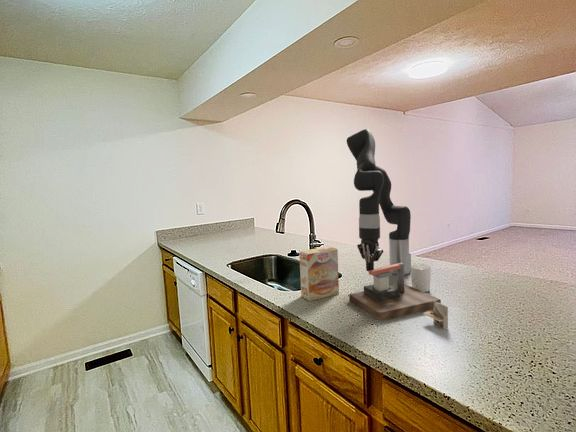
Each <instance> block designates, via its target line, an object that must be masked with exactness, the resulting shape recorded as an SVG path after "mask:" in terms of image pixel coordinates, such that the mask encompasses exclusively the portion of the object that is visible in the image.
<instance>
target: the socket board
mask: <svg viewBox="0 0 576 432" xmlns="http://www.w3.org/2000/svg"><path fill="white" fill-rule="evenodd" d="M348 296H349V300H348V301H349V303H351V304H353V305H354V306H355V307H357V308H359V309H360V310H362V311H363V312H365V313H366V314H367V315H370V316H371V317H372V318H374V319H375V320H377V321H378V322H384V321H387V320H391V319H396V318H401V317H406V316H411V315H414V314H418V313H424V312H428V311H430V309H431V310H434V306H433V305H434V301H435V302H438V303H440V304H442V303H441V302H442V301H441V299H440V298H438V297H436V296H434V295H431V294H430V293H427V292H422V291H420V290H417V289H415V288H412V286H410V285H407V284H405V283H404V292H400V290H399V289H397V284H396V285H391V284H389V290H384V291H378V290H376V289H374V284H368V285H364V286H363V291H360V292H359V291H358V292H354V293H350V294H349V295H348Z"/></svg>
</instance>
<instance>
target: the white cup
mask: <svg viewBox="0 0 576 432" xmlns="http://www.w3.org/2000/svg"><path fill="white" fill-rule="evenodd" d="M431 271H432V266H431V265H429V264H425V263H424V264H422V263H414V264H413V263H412V264H411V272H410V278H411V285H412V286H411V287H412V288H415V289H417V290H420V291H422V292H424V293H427V292H429V291H430V290H431V289H430V288H431V278H432V277H431V275H432V272H431Z"/></svg>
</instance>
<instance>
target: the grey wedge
mask: <svg viewBox="0 0 576 432" xmlns="http://www.w3.org/2000/svg"><path fill="white" fill-rule="evenodd" d="M433 306H434V309H432V310H431V309H430V310H427V311H423V312H422V314H423V315H425V316H427V317H429V318H431V319H433V322H434V323H436V325H437V326H438V327H439V328H442V329H443V330H448V329H449V309H448V308H449V307H448V306H447V305H445V304H442V303H441V304H440V303H438V302H435V301H434V305H433ZM447 328H448V329H447Z"/></svg>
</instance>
